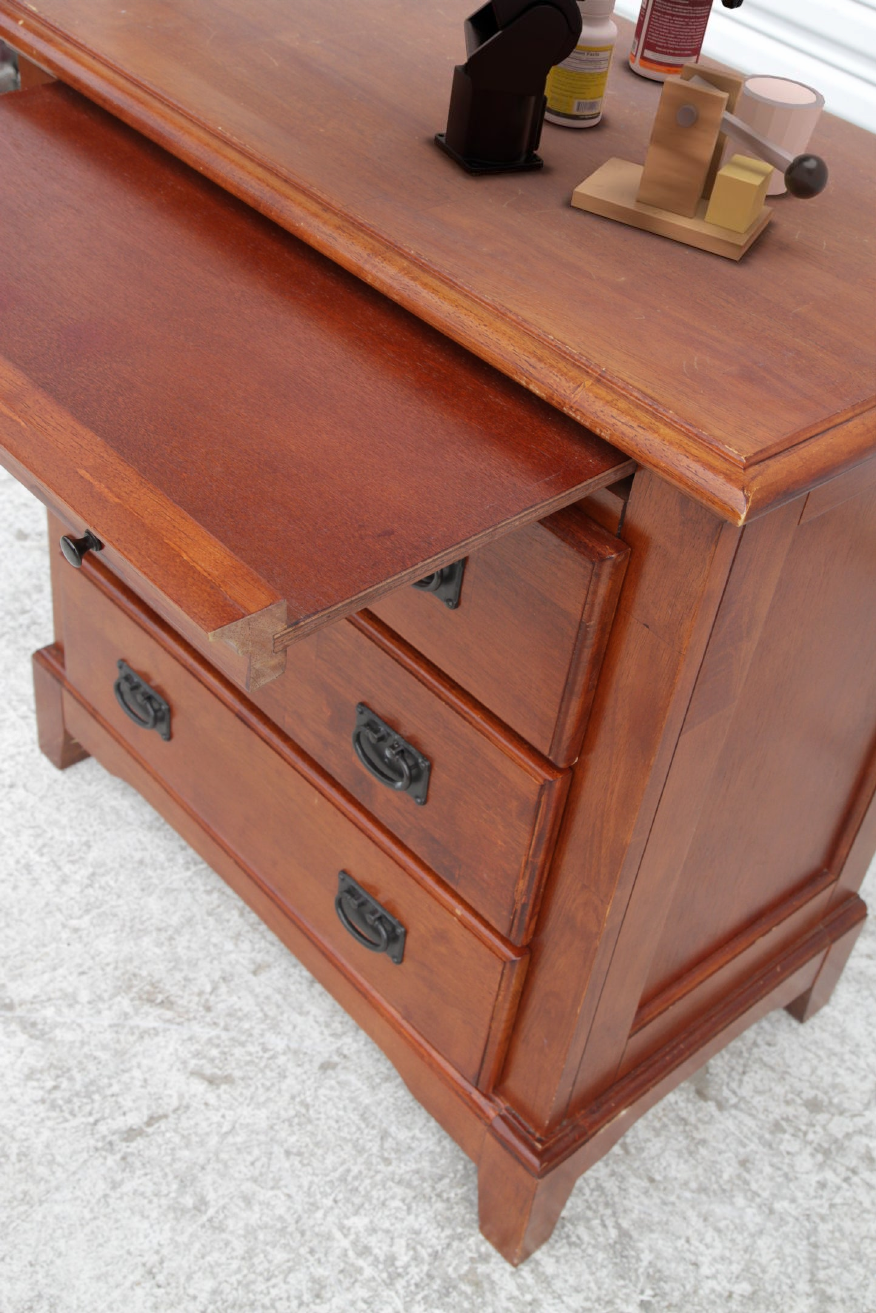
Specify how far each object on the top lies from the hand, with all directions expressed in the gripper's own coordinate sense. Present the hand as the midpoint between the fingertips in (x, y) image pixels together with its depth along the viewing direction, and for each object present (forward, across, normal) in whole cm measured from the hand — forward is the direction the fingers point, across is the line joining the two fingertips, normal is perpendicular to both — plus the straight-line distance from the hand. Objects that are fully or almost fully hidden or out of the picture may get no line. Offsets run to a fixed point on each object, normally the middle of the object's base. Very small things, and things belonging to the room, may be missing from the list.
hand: (731, 7), depth 92 cm
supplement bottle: (+11, -3, +14) cm, 19 cm away
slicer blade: (+8, -4, -7) cm, 11 cm away
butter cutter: (+12, -7, -3) cm, 15 cm away
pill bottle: (+13, +12, +21) cm, 27 cm away
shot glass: (+14, +4, 0) cm, 14 cm away
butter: (+12, -5, -7) cm, 15 cm away
